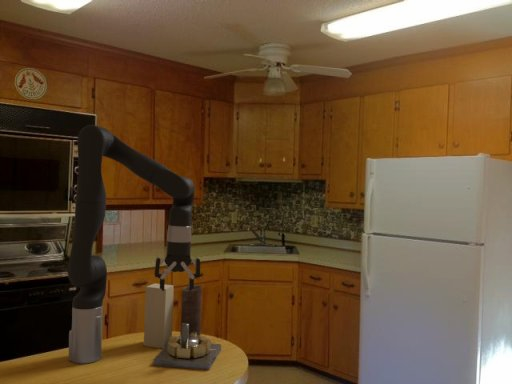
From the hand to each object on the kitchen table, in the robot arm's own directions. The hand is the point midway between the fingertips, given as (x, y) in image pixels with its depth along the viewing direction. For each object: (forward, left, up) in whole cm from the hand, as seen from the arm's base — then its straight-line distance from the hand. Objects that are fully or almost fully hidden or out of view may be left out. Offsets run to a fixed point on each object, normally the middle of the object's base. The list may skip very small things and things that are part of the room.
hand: (176, 290), depth 149 cm
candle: (-1, +23, -24) cm, 33 cm away
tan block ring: (+3, +7, -21) cm, 23 cm away
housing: (+3, +7, -24) cm, 25 cm away
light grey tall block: (-11, +17, -24) cm, 31 cm away
